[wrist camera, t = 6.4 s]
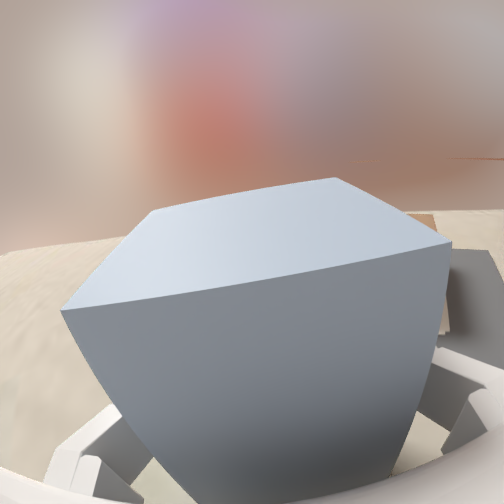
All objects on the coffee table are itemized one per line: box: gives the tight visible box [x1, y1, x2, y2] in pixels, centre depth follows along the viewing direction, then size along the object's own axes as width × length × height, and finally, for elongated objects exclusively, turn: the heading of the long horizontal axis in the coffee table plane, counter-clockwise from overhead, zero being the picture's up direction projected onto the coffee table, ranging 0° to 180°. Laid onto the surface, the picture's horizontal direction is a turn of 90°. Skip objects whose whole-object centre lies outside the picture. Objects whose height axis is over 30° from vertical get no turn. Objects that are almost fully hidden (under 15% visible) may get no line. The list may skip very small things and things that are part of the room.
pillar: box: [60, 178, 452, 504], centre depth 7 cm, size 5×5×10 cm
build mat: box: [436, 249, 504, 370], centre depth 19 cm, size 20×16×1 cm
